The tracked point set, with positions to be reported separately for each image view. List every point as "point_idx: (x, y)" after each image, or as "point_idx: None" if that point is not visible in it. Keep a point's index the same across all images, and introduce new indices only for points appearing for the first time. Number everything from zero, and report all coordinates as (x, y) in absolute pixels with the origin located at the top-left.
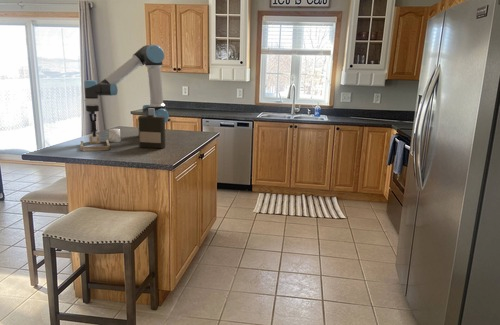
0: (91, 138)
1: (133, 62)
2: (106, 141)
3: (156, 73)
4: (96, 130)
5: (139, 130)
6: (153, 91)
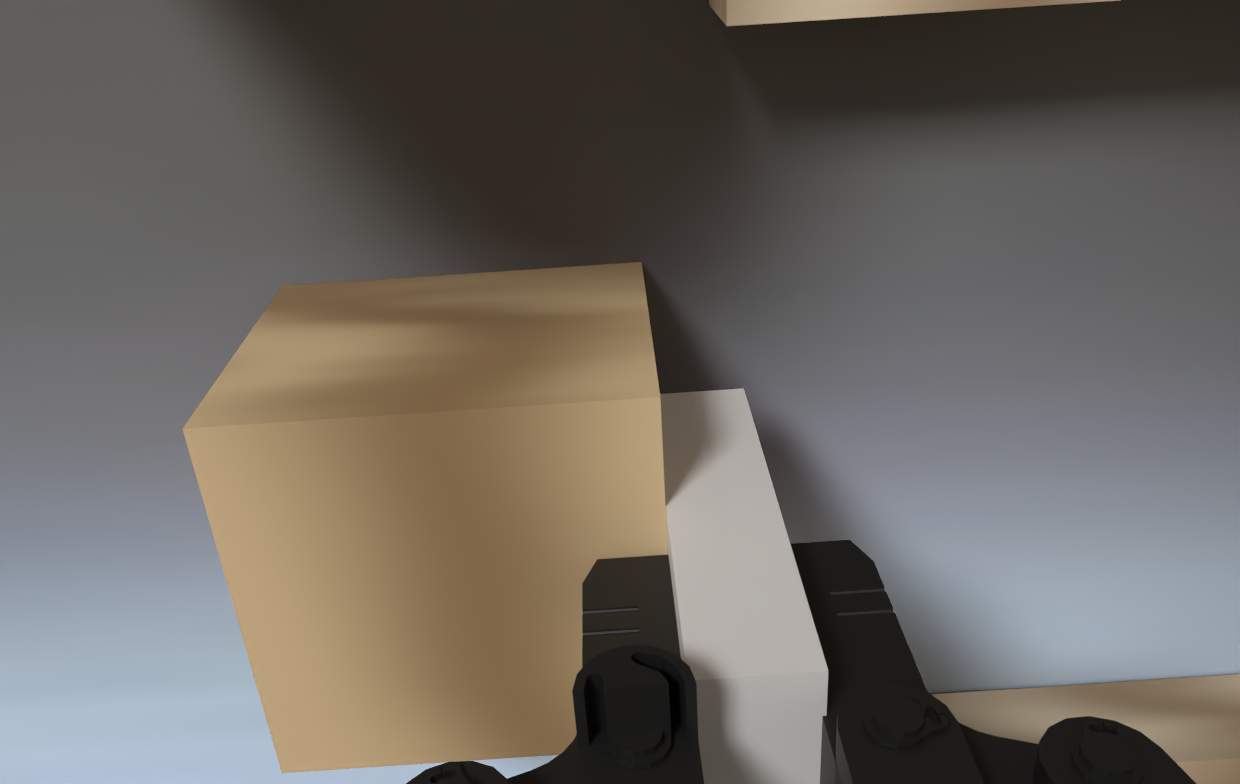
0: None
1: None
2: (980, 6)
3: None
4: (693, 702)
5: None
6: None
